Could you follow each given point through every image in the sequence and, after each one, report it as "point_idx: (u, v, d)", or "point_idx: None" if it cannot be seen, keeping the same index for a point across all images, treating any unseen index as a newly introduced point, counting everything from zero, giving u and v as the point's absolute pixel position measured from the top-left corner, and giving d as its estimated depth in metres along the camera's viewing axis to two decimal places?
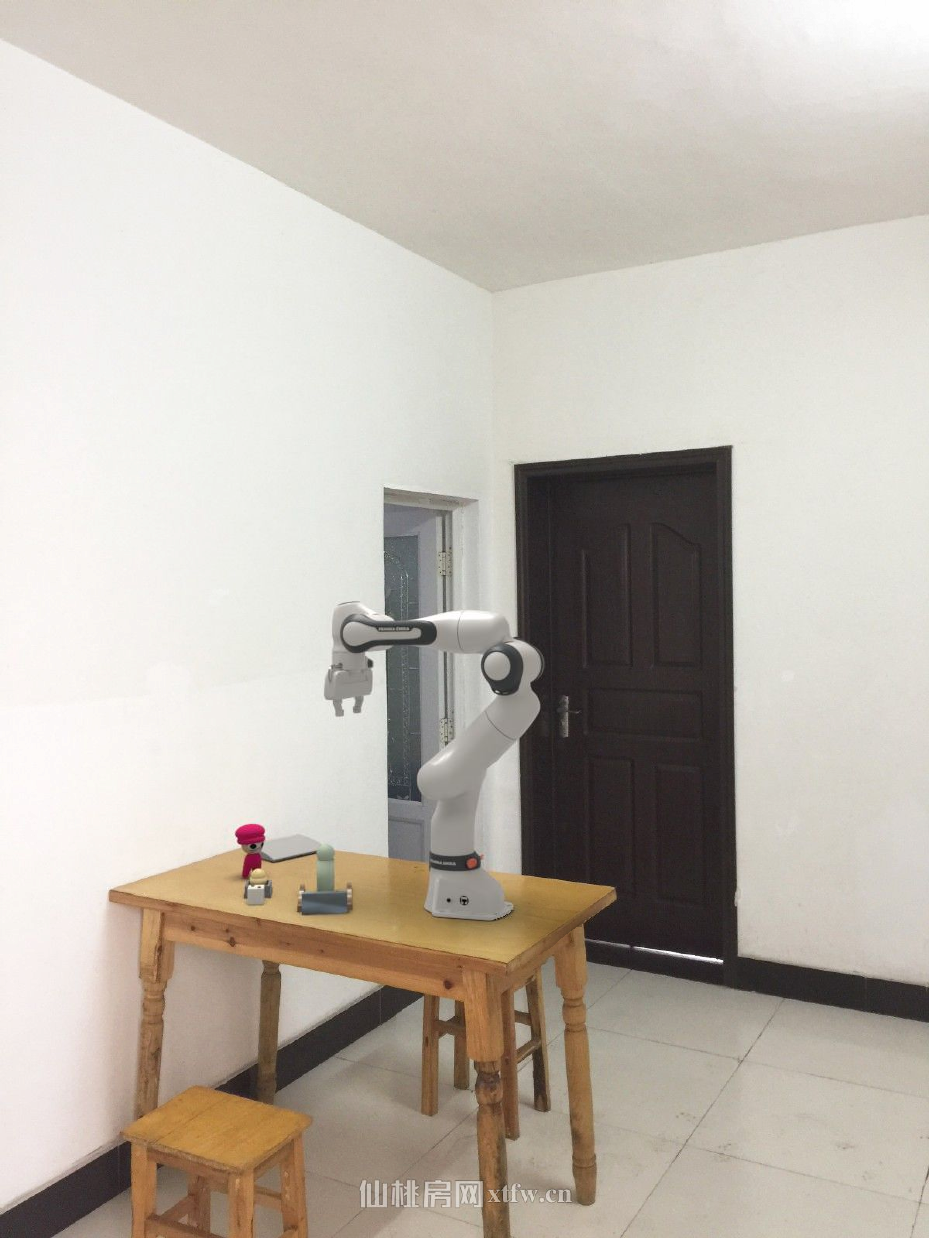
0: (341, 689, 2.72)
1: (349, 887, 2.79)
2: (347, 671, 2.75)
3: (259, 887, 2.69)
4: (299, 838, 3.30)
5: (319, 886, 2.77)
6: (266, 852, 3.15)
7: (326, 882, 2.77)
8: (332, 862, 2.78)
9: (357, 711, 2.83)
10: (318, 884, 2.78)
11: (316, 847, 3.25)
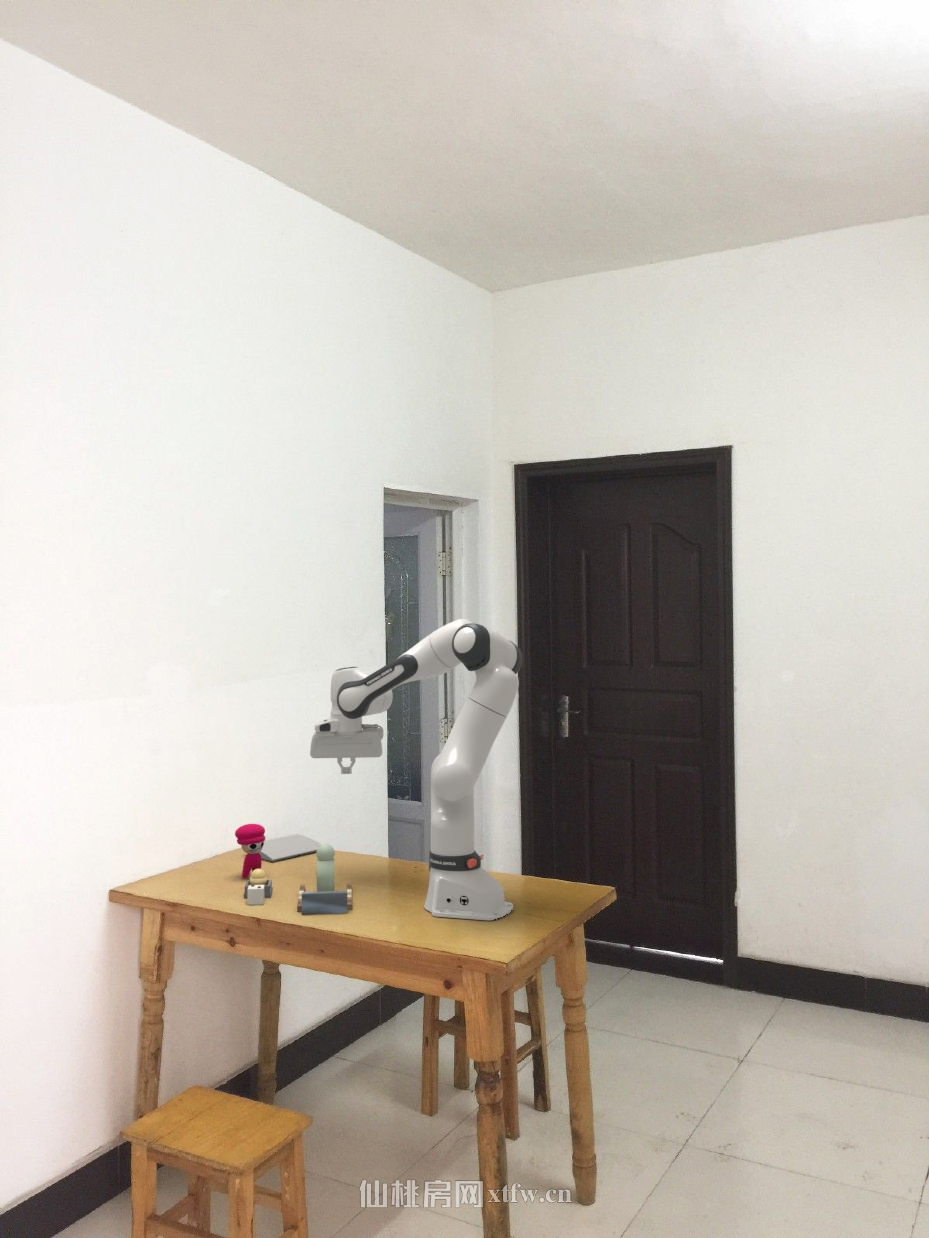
0: None
1: (349, 887, 2.79)
2: None
3: (259, 887, 2.69)
4: (298, 838, 3.31)
5: (319, 886, 2.77)
6: (265, 852, 3.15)
7: (326, 882, 2.77)
8: (332, 862, 2.78)
9: None
10: (318, 884, 2.78)
11: (315, 847, 3.26)
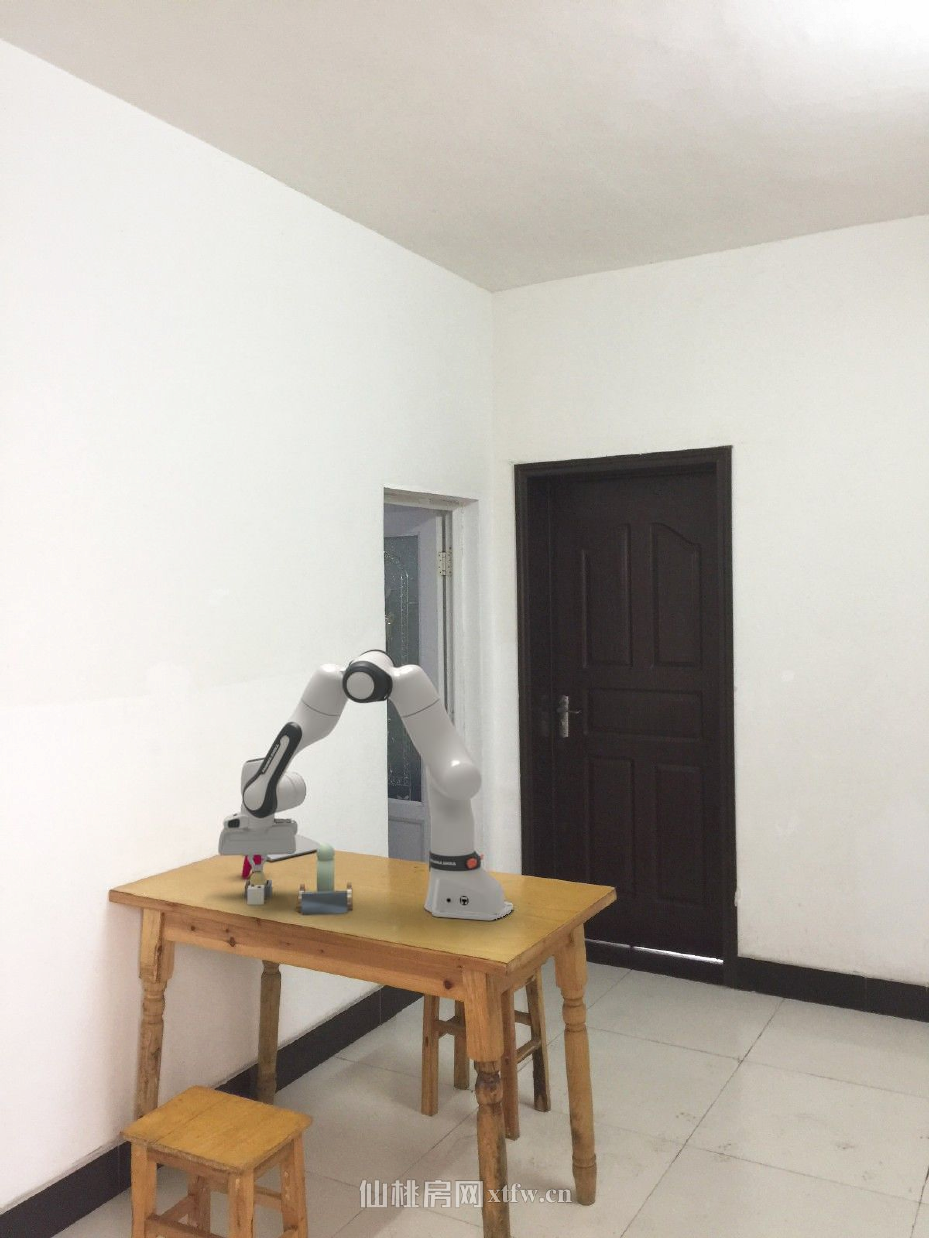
0: None
1: (349, 887, 2.79)
2: None
3: (259, 887, 2.69)
4: (296, 838, 3.31)
5: (319, 886, 2.77)
6: None
7: (326, 882, 2.77)
8: (332, 862, 2.78)
9: None
10: (318, 884, 2.78)
11: (313, 846, 3.26)
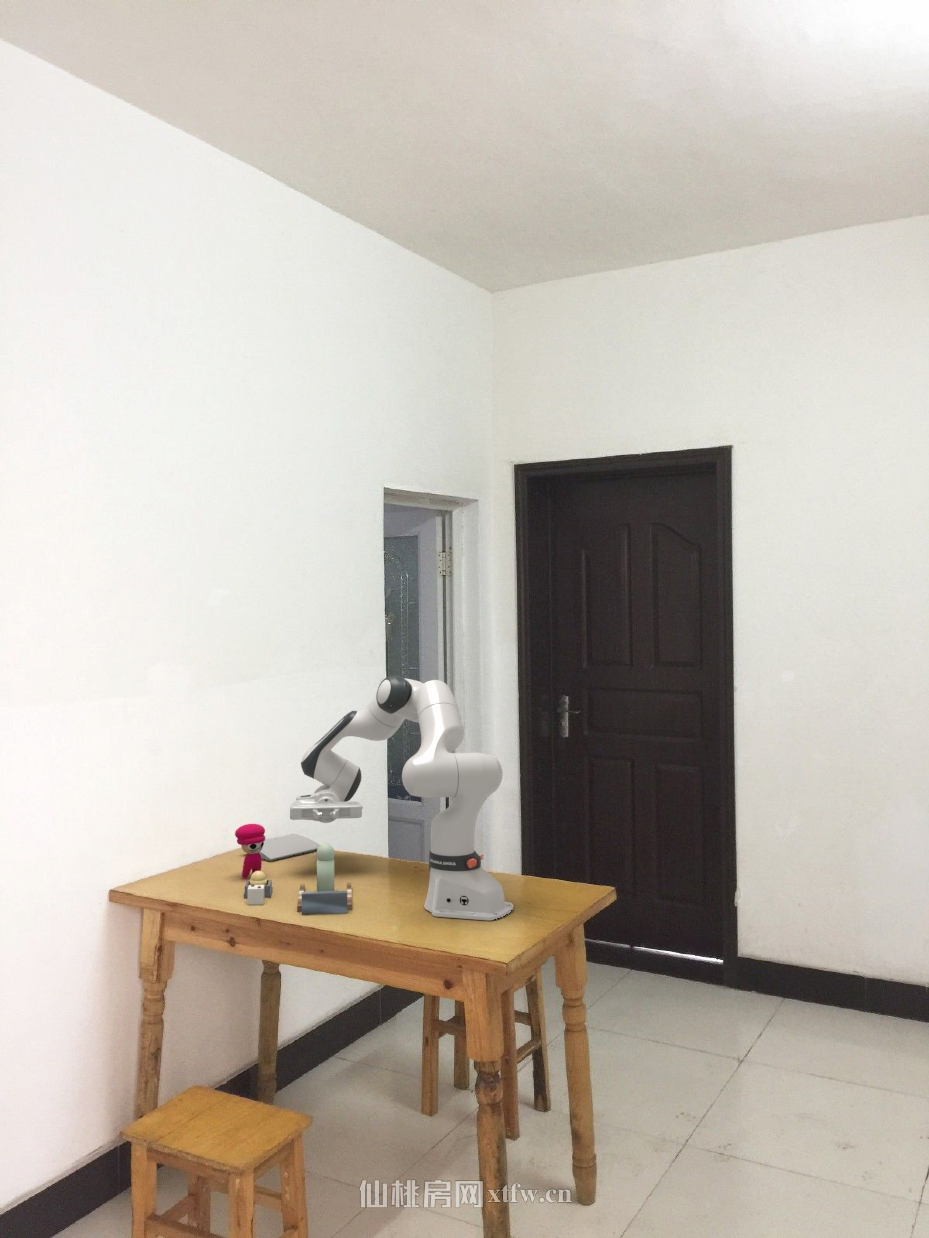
0: None
1: (349, 887, 2.79)
2: None
3: (259, 887, 2.69)
4: (294, 837, 3.31)
5: (319, 886, 2.77)
6: (263, 851, 3.15)
7: (326, 882, 2.77)
8: (332, 862, 2.78)
9: (321, 817, 2.91)
10: (318, 884, 2.78)
11: (312, 846, 3.26)
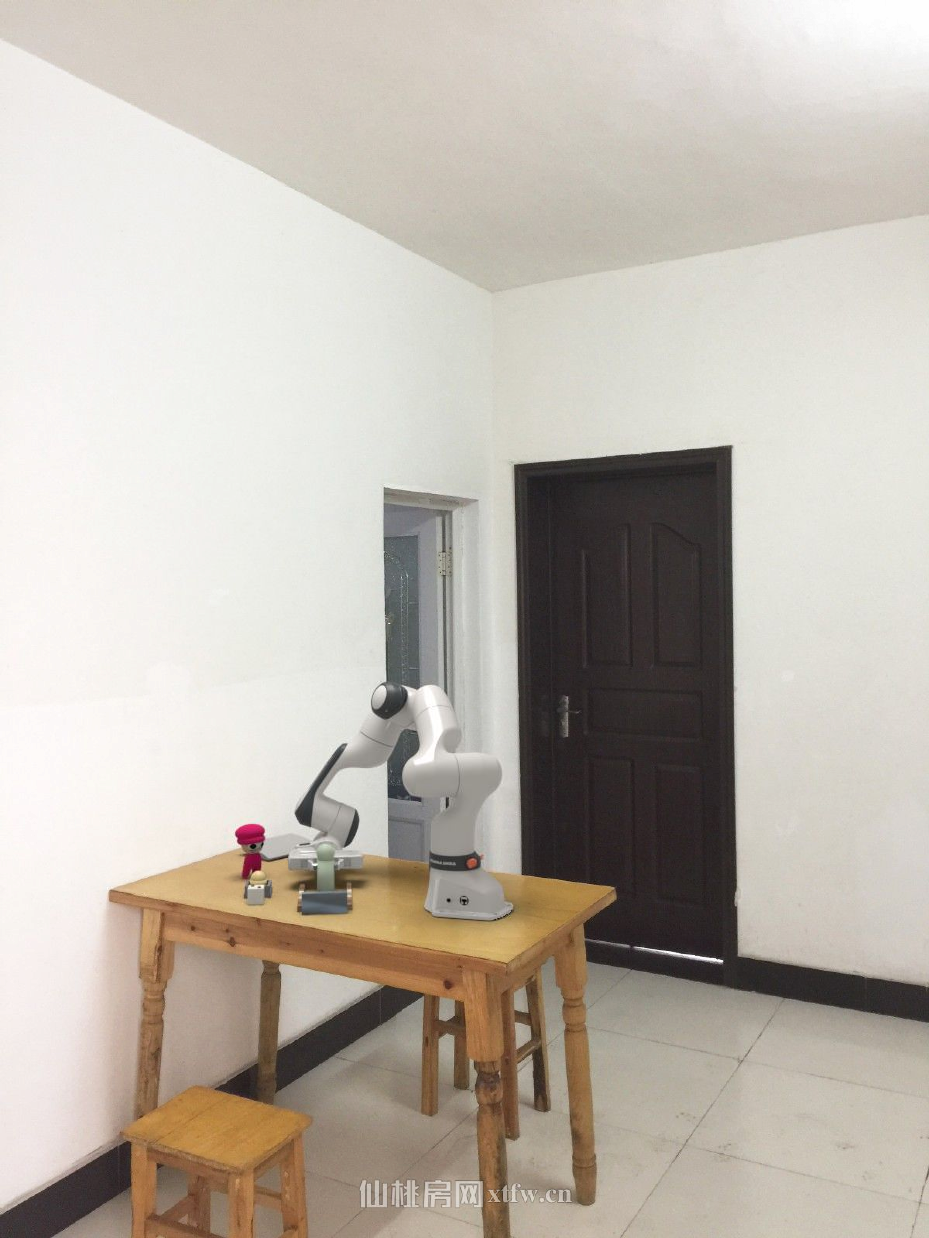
0: None
1: (349, 887, 2.79)
2: None
3: (259, 887, 2.69)
4: (292, 837, 3.32)
5: (319, 886, 2.77)
6: (261, 851, 3.16)
7: (326, 882, 2.77)
8: (332, 862, 2.78)
9: (316, 868, 2.78)
10: (318, 884, 2.78)
11: None
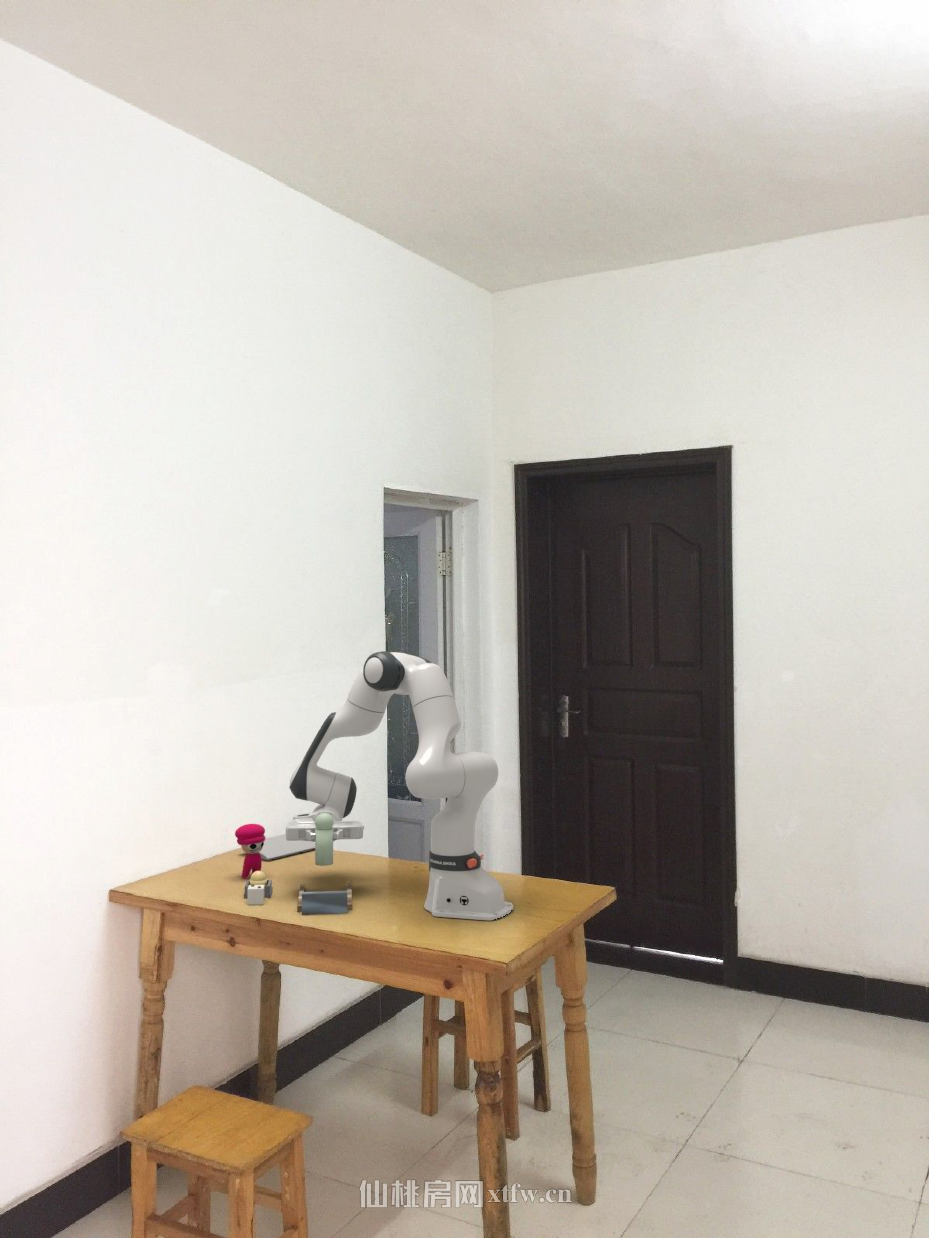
0: None
1: (349, 887, 2.79)
2: None
3: (259, 887, 2.69)
4: None
5: (318, 856, 2.69)
6: (260, 851, 3.16)
7: (324, 852, 2.69)
8: (331, 831, 2.70)
9: None
10: (316, 854, 2.70)
11: (309, 845, 3.27)
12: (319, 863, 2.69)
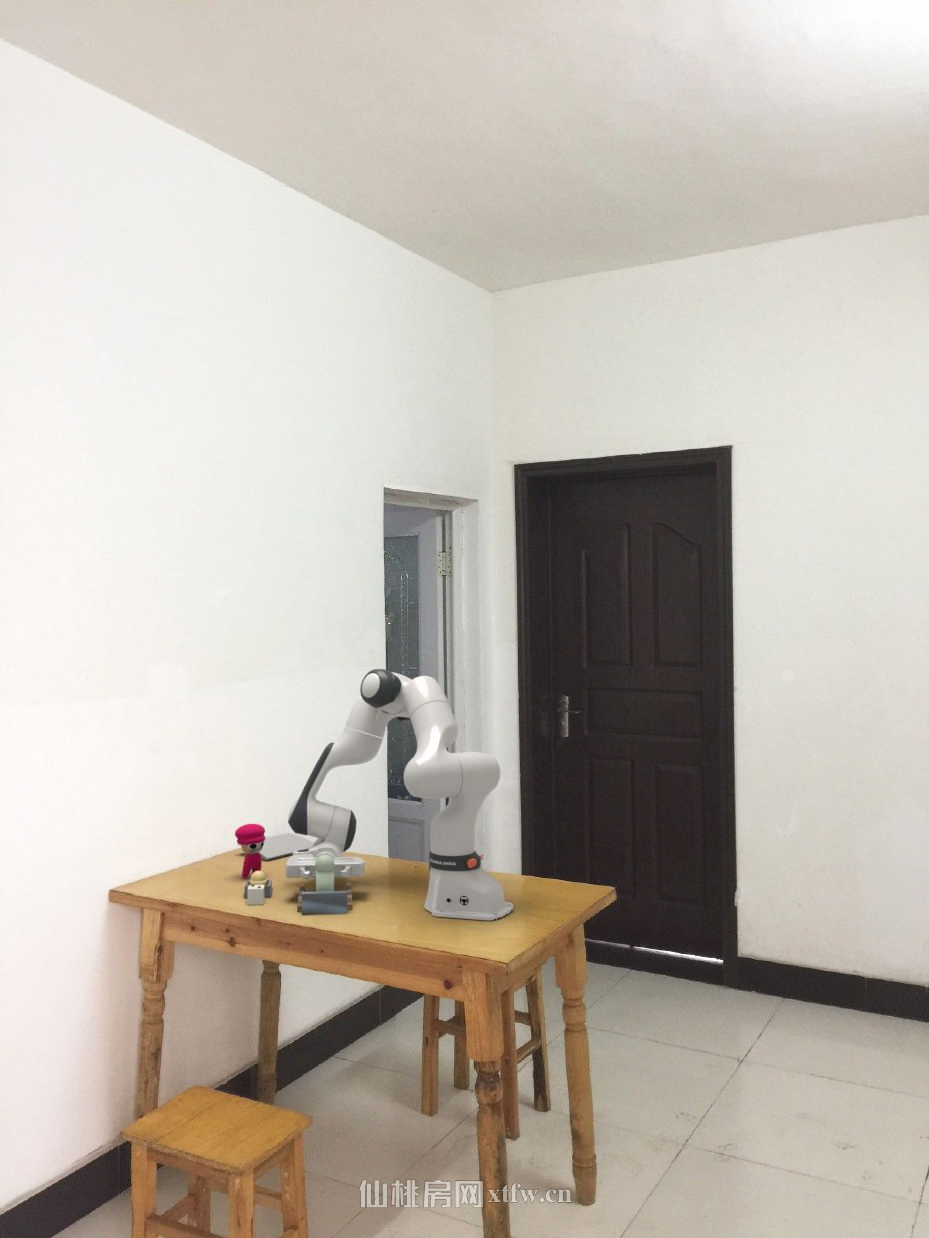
0: None
1: (349, 887, 2.79)
2: None
3: (259, 887, 2.69)
4: (289, 837, 3.32)
5: None
6: None
7: None
8: (332, 873, 2.66)
9: (308, 877, 2.66)
10: None
11: (307, 845, 3.28)
12: None
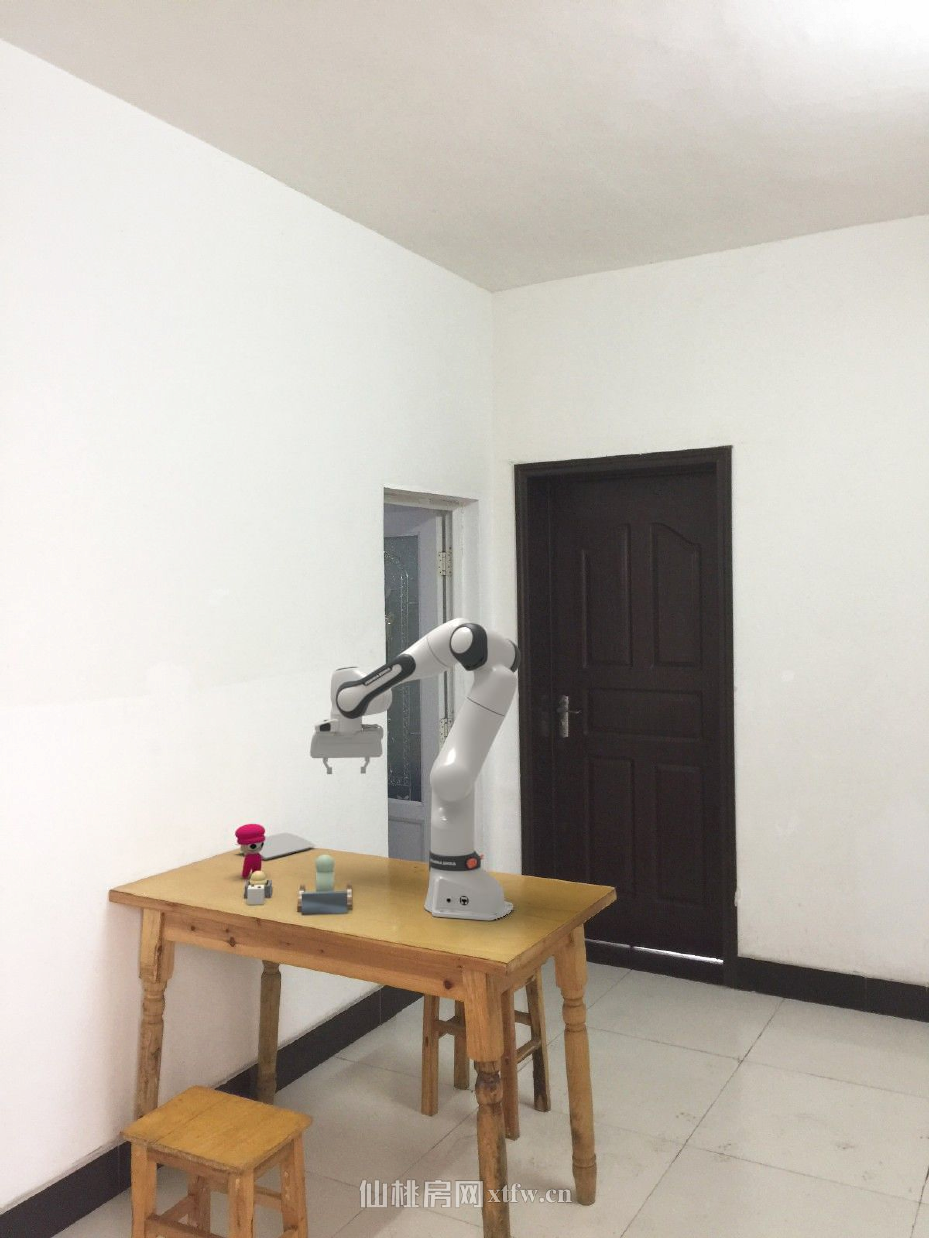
0: None
1: (349, 887, 2.79)
2: None
3: (259, 887, 2.69)
4: (287, 836, 3.33)
5: None
6: None
7: None
8: (332, 873, 2.66)
9: None
10: None
11: (305, 845, 3.28)
12: None
